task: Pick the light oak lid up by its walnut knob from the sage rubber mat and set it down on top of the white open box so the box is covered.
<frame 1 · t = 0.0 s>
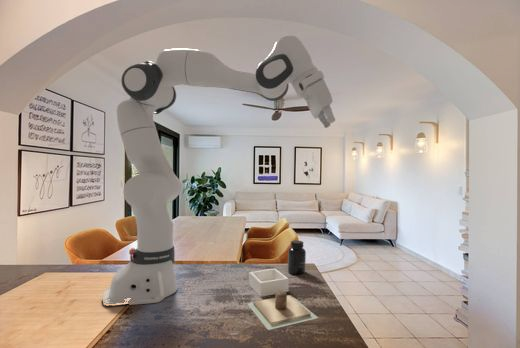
hand: (330, 124, 87), 54 cm above the kitchen counter, tool tilted 30°, fingers open, 8 cm apart
oak lid: (280, 310, 80), resting on sage mat
white open box: (268, 289, 95), on the kitchen counter
sage mat: (280, 311, 80), on the kitchen counter
supplement bottle: (296, 272, 111), on the kitchen counter
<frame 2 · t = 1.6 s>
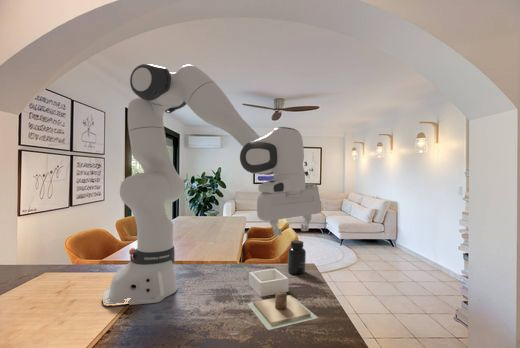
hand: (291, 232, 80), 22 cm above the kitchen counter, tool pointing down, fingers open, 8 cm apart
nothing on the kitchen counter moved.
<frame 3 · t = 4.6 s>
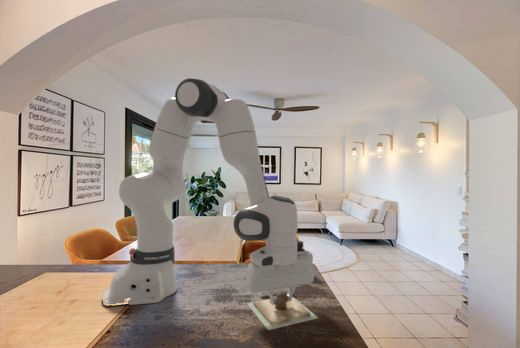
hand: (280, 302, 80), 3 cm above the kitchen counter, tool pointing down, fingers closed on oak lid, 3 cm apart
oak lid: (280, 310, 80), resting on sage mat, touching gripper
everything else where it was.
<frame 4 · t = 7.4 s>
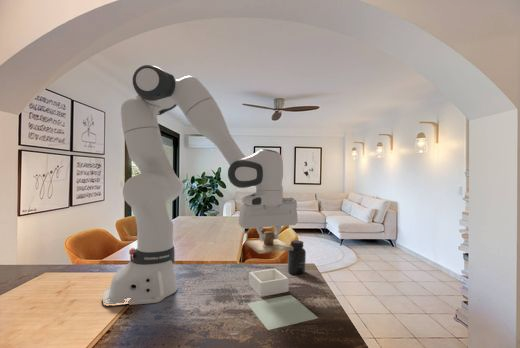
hand: (268, 239, 94), 17 cm above the kitchen counter, tool pointing down, fingers closed on oak lid, 3 cm apart
oak lid: (268, 246, 94), point 15 cm above the kitchen counter, touching gripper
everything else where it was.
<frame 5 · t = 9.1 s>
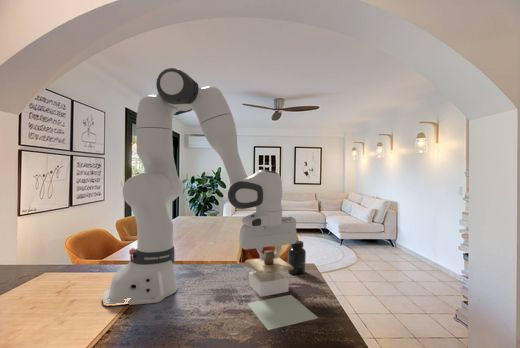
hand: (268, 259, 95), 10 cm above the kitchen counter, tool pointing down, fingers closed on oak lid, 3 cm apart
oak lid: (268, 265, 95), point 8 cm above the kitchen counter, touching gripper
everything else where it was.
when the fingers open (8 cm above the kitchen counter, at t = 10.2 s): oak lid drops 2 cm, resting on white open box.
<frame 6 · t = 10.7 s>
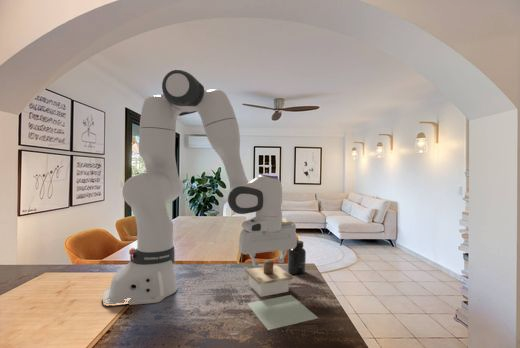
hand: (268, 264, 95), 8 cm above the kitchen counter, tool pointing down, fingers open, 8 cm apart
oak lid: (268, 275, 95), point 5 cm above the kitchen counter, touching white open box
white open box: (268, 290, 95), on the kitchen counter, touching oak lid
everything else where it was.
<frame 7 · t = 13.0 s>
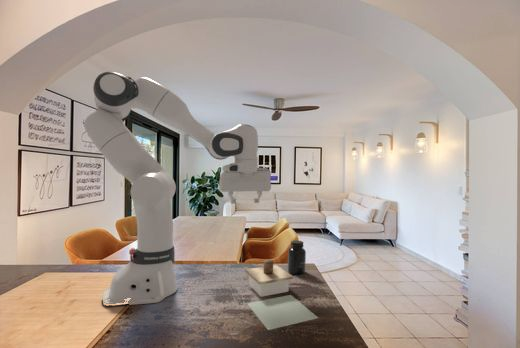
hand: (245, 203, 109), 27 cm above the kitchen counter, tool pointing down, fingers open, 8 cm apart
nothing on the kitchen counter moved.
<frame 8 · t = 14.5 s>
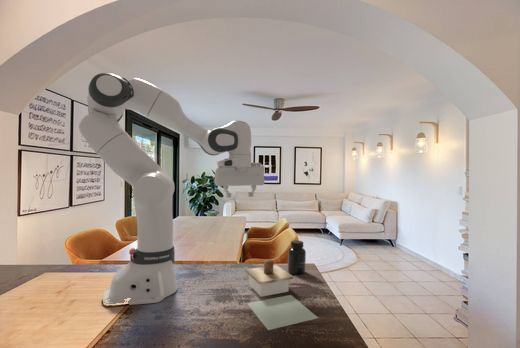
hand: (239, 197, 113), 29 cm above the kitchen counter, tool pointing down, fingers open, 8 cm apart
nothing on the kitchen counter moved.
at the end: oak lid 0.1 cm from the white open box (horizontally); oak lid point 4.7 cm above the kitchen counter; oak lid tilted 0° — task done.
